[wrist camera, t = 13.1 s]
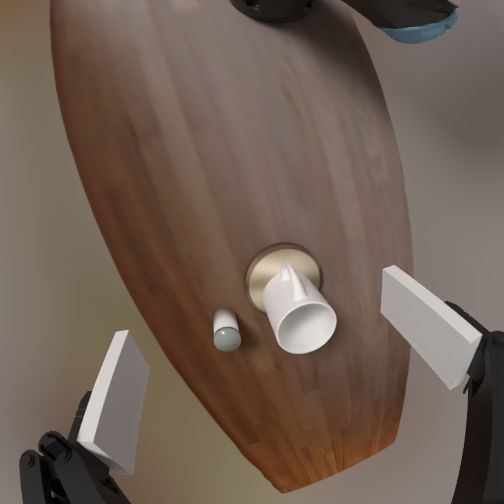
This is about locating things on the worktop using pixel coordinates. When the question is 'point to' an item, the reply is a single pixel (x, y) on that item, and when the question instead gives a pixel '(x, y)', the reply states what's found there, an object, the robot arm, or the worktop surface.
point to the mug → (297, 312)
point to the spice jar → (226, 329)
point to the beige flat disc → (278, 269)
